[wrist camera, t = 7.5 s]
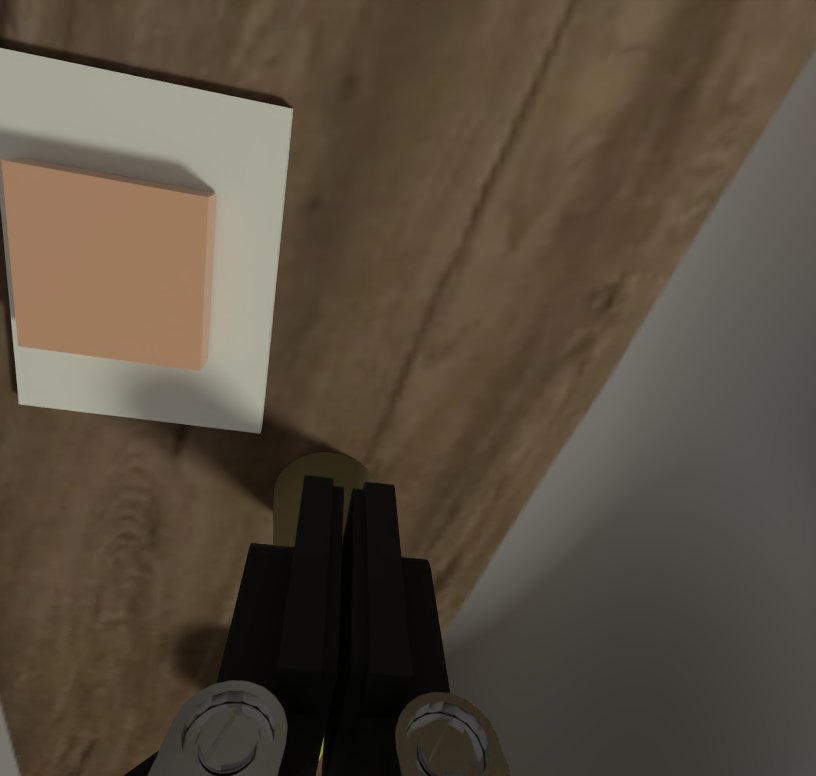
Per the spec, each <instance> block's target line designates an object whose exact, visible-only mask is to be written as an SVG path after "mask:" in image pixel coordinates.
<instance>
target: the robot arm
mask: <svg viewBox="0 0 816 776" xmlns="http://www.w3.org/2000/svg"><path fill="white" fill-rule="evenodd" d="M333 483H334V479H333V478H329V477H320V476H312V475H304V482H303V489H302V496H301V503H300V510H299V517H298V524H297V531H296V538H295V545H294V547H288V546H277V545H267V544H256V543H251V545H250V548H249V551H248V555H247V560H246V564H245V568H244V572H243V576H242V580H241V585H240V589H239V593H238V597H237V601H236V606H235V610H234V614H233V618H232V622H231V626H230V631H229V635H228V639H227V643H226V647H225V651H224V656H223V660H222V664H221V668H220V672H219V676H218V681H217V684H213V685H211V686H209V687H207V688H205V689H203V690H201V691H199V692H198V693H196V694H195V695H194V696H193V697H192V698H191V699H190V700H188V701H187V702H186V703H185V704H184V705H183V706H182V708H181V709H180V711H179V712H178V714H177V715H176V717H175V719H174V720H173V722H172V724H171V726H170V728H169V730H168V733H167V735H166V737H165V739H164V741H163V743H162V746H161V748H160V750H159V751H157V752H156V753H155V754H153V755H152V756H150V757H149V758H148V759H146V760H145V761H144V762H142V763H141V764H139V765H138V766H137V767H135V768H134V769H132V770H131V771H130V772H128V773H127V774H125V775H124V776H316V771H317V766H318V762H319V757H320V752H321V748H322V743H323V761H322V776H511V773H510V770H509V767H508V764H507V762H506V759H505V756H504V754H503V751H502V748H501V745H500V742H499V739H498V737H497V735H496V733H495V731H494V729H493V727H492V725H491V723H490V721H489V720H488V719H487V717H486V716H485V715H484V714H483V713H482V712H481V711H480V710H479V709H478V708H477V707H476V706H474V705H473V704H472V703H470V702H469V701H467V700H466V699H464V698H462V697H459V696H456V695H453V694H451V693H450V689H449V683H448V676H447V670H446V664H445V658H444V651H443V644H442V638H441V632H440V625H439V619H438V612H437V606H436V599H435V593H434V587H433V580H432V574H431V568H430V564H429V562H428V560H425V559H415V558H404V557H401V549H400V538H399V528H398V518H397V507H396V497H395V488H394V485H390V484H382V483H373V482H365V483H364V486H363V489H357V488H353V489H352V493H351V498H350V503H349V509H348V514H347V519H346V524H345V530H344V535H343V508H344V487H339V486H333ZM342 538H343V540H342ZM323 738H324V742H323Z"/></svg>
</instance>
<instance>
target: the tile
mask: <svg viewBox="0 0 816 776" xmlns="http://www.w3.org/2000/svg"><path fill="white" fill-rule="evenodd" d="M1 163H2V174H3V185H4V196H5V207H6V218H7V230H8V241H9V252H10V263H11V274H12V285H13V296H14V307H15V318H16V329H17V340H18V346H20V347H27V348H35V349H42V350H49V351H57V352H64V353H71V354H79V355H86V356H93V357H101V358H108V359H115V360H123V361H130V362H137V363H145V364H152V365H159V366H167V367H174V368H181V369H189V370H196V371H201V369H202V368H203V366H204V365H205V363H206V361H207V360H208V354H209V335H210V316H211V297H212V278H213V259H214V239H215V220H216V201H217V193H213V192H207V191H202V190H196V189H191V188H185V187H180V186H175V185H169V184H164V183H158V182H153V181H147V180H142V179H136V178H131V177H125V176H120V175H114V174H109V173H103V172H98V171H92V170H87V169H81V168H76V167H70V166H65V165H59V164H54V163H49V162H43V161H38V160H32V159H27V158H15V159H5V160H1Z"/></svg>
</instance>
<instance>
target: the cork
mask: <svg viewBox="0 0 816 776" xmlns="http://www.w3.org/2000/svg"><path fill="white" fill-rule="evenodd" d="M304 475H312V476H320V477H329V478H333V479H334V483H333V486H339V487H344V508H343V535H344V530H345V524H346V519H347V514H348V509H349V503H350V498H351V493H352V489H353V488H357V489H363V486H364V483H365V482H373V483H375V481H374V479H373V477H372V476H371V474H370V473H369V471H368V470H367V468H365V467H364V466H363V465H362V464H360V463H359V462H358V461H357V460H355V459H353V458H350V457H348V456H345V455H343V454H340V453H332V452H318V453H312V454H306V455H304V456H302V457H300V458H298V459H296V460H294V461H292V462H291V463H290V464H289V465H288V466H287V467H286V468H285V469H283V470H282V471H281V473H280V475H279V477H278V479H277V481H276V483H275V485H274V497H273V545H277V546H288V547H294V545H295V538H296V531H297V524H298V517H299V510H300V503H301V496H302V489H303V482H304ZM342 540H343V538H342Z"/></svg>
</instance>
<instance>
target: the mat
mask: <svg viewBox="0 0 816 776" xmlns="http://www.w3.org/2000/svg"><path fill="white" fill-rule="evenodd" d="M292 118H293V109H291V108H287V107H282V106H277V105H272V104H267V103H263V102H258V101H253V100H248V99H243V98H239V97H234V96H229V95H224V94H219V93H215V92H210V91H205V90H200V89H195V88H191V87H186V86H181V85H176V84H171V83H167V82H162V81H157V80H152V79H147V78H143V77H138V76H133V75H128V74H123V73H119V72H114V71H109V70H104V69H99V68H95V67H90V66H85V65H80V64H75V63H71V62H66V61H61V60H56V59H51V58H47V57H42V56H37V55H32V54H27V53H23V52H18V51H13V50H8V49H3V48H0V207H1V218H2V228H3V239H4V250H5V260H6V271H7V282H8V292H9V303H10V314H11V324H12V335H13V346H14V356H15V367H16V378H17V389H18V399H19V404H22V405H30V406H38V407H47V408H55V409H63V410H71V411H79V412H88V413H96V414H104V415H112V416H120V417H128V418H137V419H145V420H153V421H161V422H169V423H178V424H186V425H194V426H202V427H210V428H218V429H227V430H235V431H243V432H251V433H259V434H260V433H261V430H262V424H263V413H264V403H265V393H266V383H267V373H268V362H269V352H270V342H271V332H272V322H273V312H274V301H275V291H276V281H277V271H278V261H279V250H280V240H281V230H282V220H283V210H284V200H285V189H286V179H287V169H288V159H289V149H290V138H291V128H292ZM15 158H27V159H32V160H38V161H43V162H49V163H54V164H59V165H65V166H70V167H76V168H81V169H87V170H92V171H98V172H103V173H109V174H114V175H120V176H125V177H131V178H136V179H142V180H147V181H153V182H158V183H164V184H169V185H175V186H180V187H185V188H191V189H196V190H202V191H207V192H213V193H217V201H216V220H215V239H214V259H213V278H212V297H211V316H210V335H209V354H208V360H207V361H206V363H205V365H204V366H203V368H202V369H201V371H196V370H189V369H181V368H174V367H167V366H159V365H152V364H145V363H137V362H130V361H123V360H115V359H108V358H101V357H93V356H86V355H79V354H71V353H64V352H57V351H49V350H42V349H35V348H27V347H20V346H18V340H17V329H16V318H15V307H14V296H13V285H12V274H11V263H10V252H9V241H8V230H7V218H6V207H5V196H4V185H3V174H2V163H1V160H5V159H15Z"/></svg>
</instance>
